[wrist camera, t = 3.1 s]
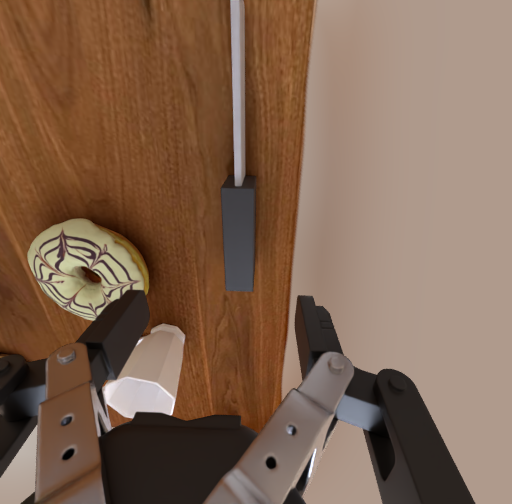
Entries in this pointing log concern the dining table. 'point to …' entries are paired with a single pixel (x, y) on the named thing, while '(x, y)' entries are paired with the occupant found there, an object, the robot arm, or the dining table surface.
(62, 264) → the decorated donut
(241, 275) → the knife
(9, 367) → the robot arm
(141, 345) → the cup
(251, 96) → the dining table surface
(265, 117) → the dining table surface
